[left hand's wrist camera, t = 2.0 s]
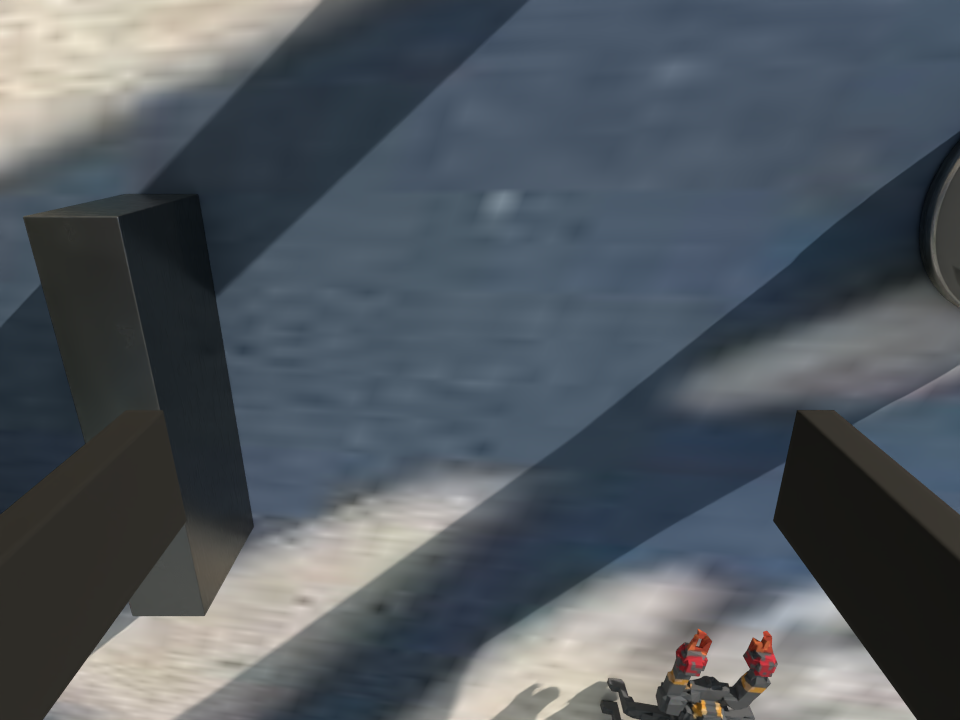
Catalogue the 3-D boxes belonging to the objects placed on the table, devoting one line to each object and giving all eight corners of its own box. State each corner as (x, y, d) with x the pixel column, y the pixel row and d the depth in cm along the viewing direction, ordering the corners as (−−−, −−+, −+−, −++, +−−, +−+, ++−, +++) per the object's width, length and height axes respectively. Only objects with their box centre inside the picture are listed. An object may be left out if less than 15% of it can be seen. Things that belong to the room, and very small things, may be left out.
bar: (124, 194, 40) (22, 216, 31) (198, 193, 40) (117, 216, 31) (194, 526, 50) (132, 616, 41) (254, 526, 50) (204, 616, 41)
